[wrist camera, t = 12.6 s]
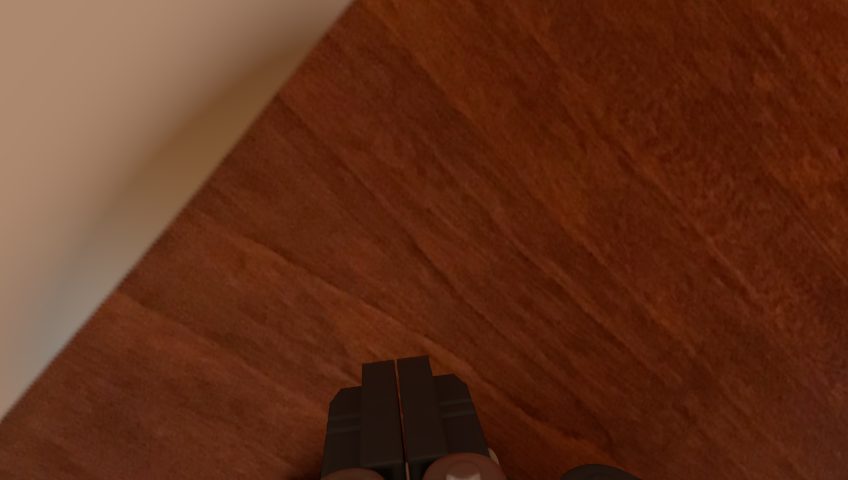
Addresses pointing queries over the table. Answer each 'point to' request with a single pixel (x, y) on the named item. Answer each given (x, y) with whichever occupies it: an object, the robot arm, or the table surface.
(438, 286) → the table surface
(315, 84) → the table surface
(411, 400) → the robot arm
